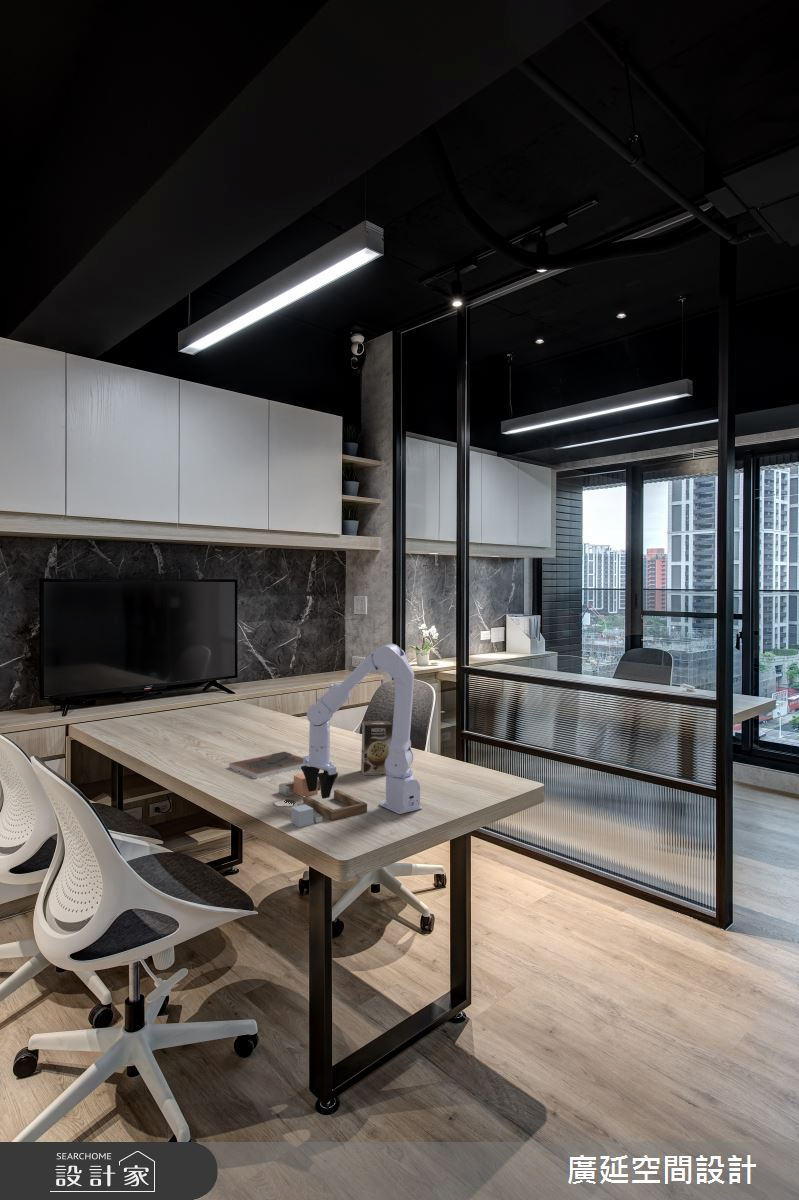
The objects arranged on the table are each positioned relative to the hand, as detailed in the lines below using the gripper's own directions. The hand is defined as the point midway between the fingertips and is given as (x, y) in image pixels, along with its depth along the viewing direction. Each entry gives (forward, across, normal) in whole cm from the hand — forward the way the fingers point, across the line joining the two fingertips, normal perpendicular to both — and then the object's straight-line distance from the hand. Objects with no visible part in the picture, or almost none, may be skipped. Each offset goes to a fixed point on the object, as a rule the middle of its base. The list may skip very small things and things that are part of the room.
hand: (318, 794), depth 182 cm
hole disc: (+2, -3, -9) cm, 10 cm away
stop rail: (+2, -10, 0) cm, 10 cm away
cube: (+2, -8, 0) cm, 8 cm away
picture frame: (+3, -38, +4) cm, 38 cm away
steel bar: (+2, +9, -8) cm, 12 cm away
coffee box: (+2, -13, +29) cm, 32 cm away
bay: (+2, +8, 0) cm, 8 cm away
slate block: (+2, +13, -12) cm, 18 cm away
